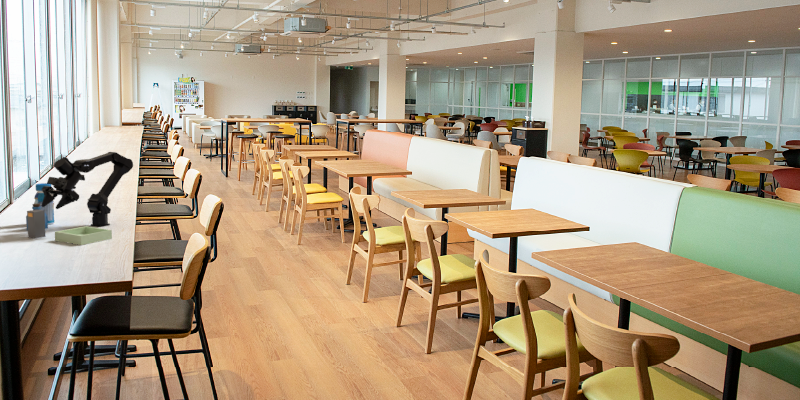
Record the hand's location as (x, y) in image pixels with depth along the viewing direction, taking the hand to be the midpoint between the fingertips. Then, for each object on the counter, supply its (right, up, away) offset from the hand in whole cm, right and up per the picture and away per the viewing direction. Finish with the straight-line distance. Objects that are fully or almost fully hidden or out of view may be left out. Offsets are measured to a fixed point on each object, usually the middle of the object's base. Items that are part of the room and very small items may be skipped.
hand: (49, 207), depth 274 cm
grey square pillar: (-3, -13, -4) cm, 14 cm away
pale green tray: (+19, -14, -6) cm, 24 cm away
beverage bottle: (-17, -9, +25) cm, 31 cm away
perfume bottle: (-13, -11, +13) cm, 21 cm away
